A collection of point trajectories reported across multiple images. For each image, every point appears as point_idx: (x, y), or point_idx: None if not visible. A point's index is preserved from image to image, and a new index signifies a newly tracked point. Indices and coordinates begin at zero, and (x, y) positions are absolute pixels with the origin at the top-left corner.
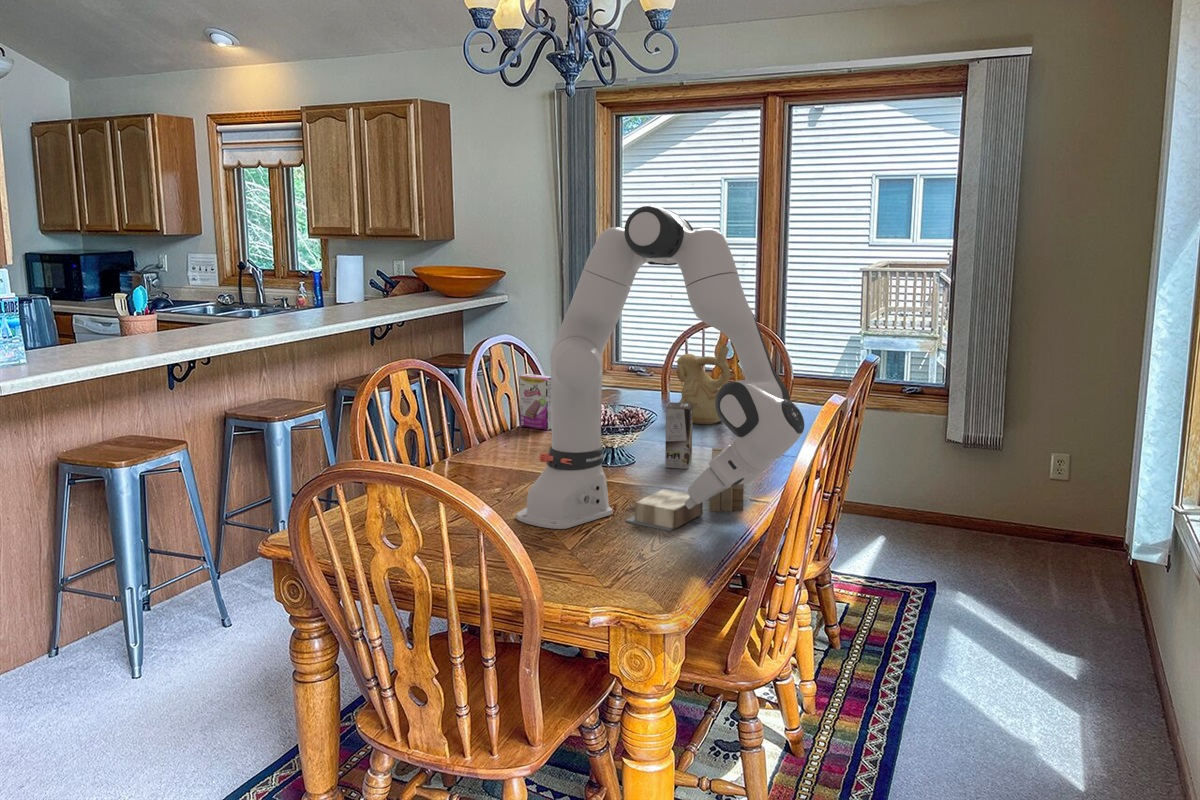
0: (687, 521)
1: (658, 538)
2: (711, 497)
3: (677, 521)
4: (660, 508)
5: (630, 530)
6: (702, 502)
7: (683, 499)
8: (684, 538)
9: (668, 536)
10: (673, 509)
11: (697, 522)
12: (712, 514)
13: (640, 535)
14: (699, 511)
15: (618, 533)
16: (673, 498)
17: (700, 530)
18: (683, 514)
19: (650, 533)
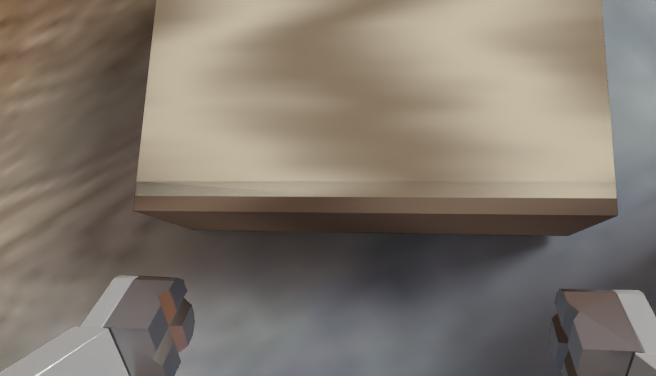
0: (347, 231)
1: (43, 218)
2: (552, 352)
3: (206, 225)
4: (149, 87)
5: (92, 31)
6: (592, 223)
7: (425, 119)
8: None
9: (94, 248)
10: (147, 187)
11: (413, 274)
12: (639, 283)
13: (45, 114)
14: (525, 231)
15: (27, 10)
16: (401, 42)
17: (280, 367)
18: (279, 221)
19: (95, 140)
